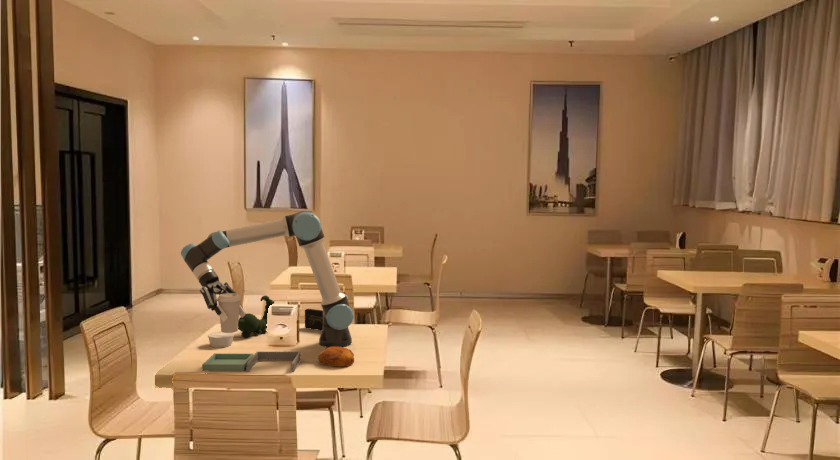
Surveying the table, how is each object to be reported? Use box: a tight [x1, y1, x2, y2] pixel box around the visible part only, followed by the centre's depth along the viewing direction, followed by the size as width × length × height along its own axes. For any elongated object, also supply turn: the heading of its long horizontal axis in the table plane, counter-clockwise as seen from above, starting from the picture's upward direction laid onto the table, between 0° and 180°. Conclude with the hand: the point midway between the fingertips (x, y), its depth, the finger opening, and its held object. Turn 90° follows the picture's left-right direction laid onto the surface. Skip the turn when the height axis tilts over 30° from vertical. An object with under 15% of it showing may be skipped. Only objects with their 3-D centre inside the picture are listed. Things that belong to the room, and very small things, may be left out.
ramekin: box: [207, 331, 234, 349], centre depth 312 cm, size 11×11×5 cm
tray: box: [201, 352, 255, 372], centre depth 280 cm, size 17×17×3 cm
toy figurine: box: [238, 295, 275, 339], centre depth 332 cm, size 10×19×26 cm
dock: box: [246, 351, 302, 373], centre depth 280 cm, size 19×18×4 cm
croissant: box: [317, 346, 355, 368], centre depth 285 cm, size 14×16×8 cm
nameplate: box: [304, 308, 323, 331], centre depth 343 cm, size 21×2×10 cm, turn 61°
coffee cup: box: [217, 292, 242, 334], centre depth 278 cm, size 10×10×15 cm
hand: (235, 317), depth 277 cm, fingers closed on coffee cup, 9 cm apart
